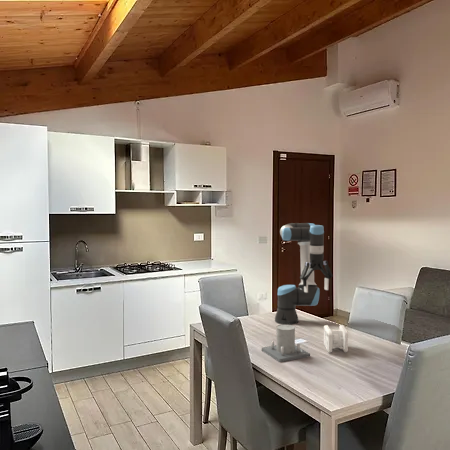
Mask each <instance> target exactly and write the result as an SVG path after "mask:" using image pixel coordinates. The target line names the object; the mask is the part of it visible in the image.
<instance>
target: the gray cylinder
mask: <svg viewBox="0 0 450 450" xmlns="http://www.w3.org/2000/svg"><path fill="white" fill-rule="evenodd" d="M295 333H296V326H295V325H293V324H278V325H277V326H276V340H275V341H276V351H277V352H279V353H281V347H284V354H291V353H294V352H295V346H296V341H295V340H296V338H295V337H296V334H295Z"/></svg>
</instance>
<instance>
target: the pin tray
mask: <svg viewBox="0 0 450 450" xmlns="http://www.w3.org/2000/svg"><path fill="white" fill-rule="evenodd" d="M261 351H262V352H263V353H265V354H266V355H268V356H269V357H271V358H272V359H274V360H276V362H278V363H282V362H288V361H292V360H298V359H299V360H300V359H303V358H304V359H305V358H310V357H311V353H310V352H308V351H306V350H305V349H302V348H301V344H300V343H297V344H296V345H295V352H294V353H291V354H284V347H281V353H279V352H277V351H276V345H275V341H273V340H272V341H271V342H270V346H264V347H261Z"/></svg>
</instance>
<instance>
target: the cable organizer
mask: <svg viewBox="0 0 450 450" xmlns="http://www.w3.org/2000/svg"><path fill="white" fill-rule="evenodd" d="M323 345H324V347H325V348H326V351H327V352H328V353H333V350H334V351H335V350H336V348H339V350H342V351H343V352H344V353H348V352H349V349H348V348H349V333H348V331H347V329H346V327H345V326H344V324H339V329H331V328H330V327H329V325H328V324H326V325H324V326H323Z"/></svg>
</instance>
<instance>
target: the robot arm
mask: <svg viewBox="0 0 450 450" xmlns="http://www.w3.org/2000/svg"><path fill="white" fill-rule="evenodd" d="M324 227H325V226H324V225H320V224H315V223H310V222H301V223H299V222H295V223H293V222H291V223H287V224H285V225H282V226H281V228H280V229H279V234H280V237H281V239H282V240H283V241H287V242H288V241H293V242H294V241H296V242H297V245H299V248H300V249H299V252H300V258H299V259H300V276H299V279H300V282H299V284H298V287H297V286H296V284H283V285H281V286H278V288H277V294H276V295H277V309H276V312H275V317H274V322H275V323H277V324H279V325H283V324H286V325H294V324H297V323H299V316H298V314H297V310H296V306H297V307H299V306H301V307H302V306H303V307H306V306H307V307H308V306H309V307H312V306H314V307H315V306H317V305H318V303H319V300H320V293H321V291H320V288H319V287H318V284H316V282H315V271H317V270H318V271H319V270H320V271H321V273H322V274H323V275H324V280H323V281H324V287H323V288H324V290H325V291H329V284H330V280H331V278H333V273H332V271H331V268H330V266H329V261H328V260H324V251H325V250H324V247H325V246H324V245H325V244H324V241H325V240H324V238H325V237H324V236H325V231H324Z"/></svg>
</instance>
